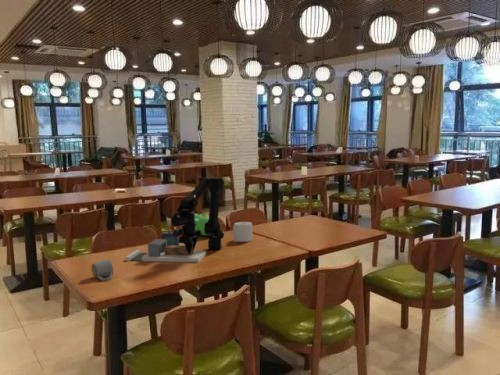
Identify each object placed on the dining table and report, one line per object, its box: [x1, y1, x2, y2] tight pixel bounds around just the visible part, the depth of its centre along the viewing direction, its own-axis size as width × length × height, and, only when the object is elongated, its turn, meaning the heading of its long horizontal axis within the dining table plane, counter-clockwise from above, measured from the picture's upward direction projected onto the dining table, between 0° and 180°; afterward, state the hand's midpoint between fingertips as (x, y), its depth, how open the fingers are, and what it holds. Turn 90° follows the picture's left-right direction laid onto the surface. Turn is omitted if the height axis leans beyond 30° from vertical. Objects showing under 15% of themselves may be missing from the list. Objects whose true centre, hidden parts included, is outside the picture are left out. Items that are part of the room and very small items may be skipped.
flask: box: [161, 229, 180, 245], centre depth 250 cm, size 9×3×11 cm, turn 87°
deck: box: [125, 249, 207, 263], centre depth 232 cm, size 39×14×2 cm, turn 80°
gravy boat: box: [194, 212, 209, 237], centre depth 279 cm, size 18×17×15 cm
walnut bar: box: [164, 244, 193, 255], centre depth 230 cm, size 14×4×4 cm, turn 79°
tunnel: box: [147, 238, 167, 257], centre depth 232 cm, size 6×11×6 cm, turn 170°
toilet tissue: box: [232, 221, 254, 243], centre depth 263 cm, size 11×12×10 cm
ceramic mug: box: [90, 258, 114, 282], centre depth 202 cm, size 11×8×8 cm
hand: (190, 252), depth 229 cm, fingers closed on walnut bar, 4 cm apart
